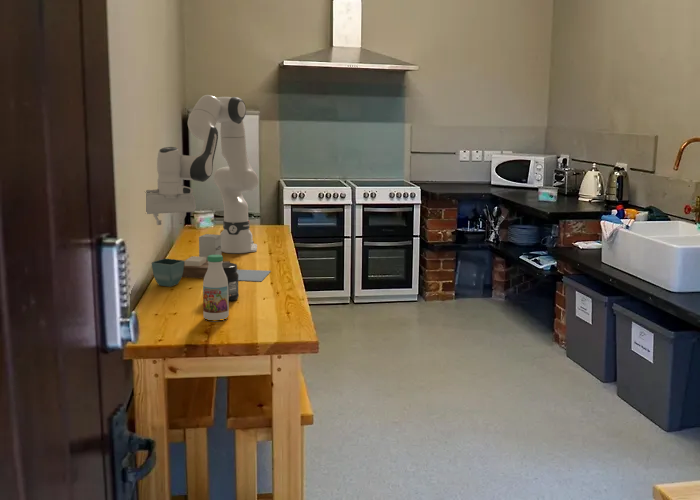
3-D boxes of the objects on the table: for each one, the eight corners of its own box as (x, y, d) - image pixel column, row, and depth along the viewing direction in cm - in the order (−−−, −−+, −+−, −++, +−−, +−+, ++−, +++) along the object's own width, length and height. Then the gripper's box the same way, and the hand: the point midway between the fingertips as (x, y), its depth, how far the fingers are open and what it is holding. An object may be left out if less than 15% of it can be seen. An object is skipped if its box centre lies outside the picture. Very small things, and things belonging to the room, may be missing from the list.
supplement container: (211, 294, 241) (211, 261, 239) (241, 295, 241) (241, 262, 239) (204, 302, 231) (203, 267, 229) (235, 303, 231) (235, 268, 229)
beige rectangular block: (191, 261, 277) (191, 256, 277) (206, 261, 276) (206, 256, 276) (184, 265, 268) (184, 260, 268) (199, 266, 268) (199, 261, 267)
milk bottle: (205, 315, 217) (203, 253, 213) (229, 315, 217) (229, 253, 214) (202, 322, 209) (200, 258, 205) (227, 322, 210) (226, 258, 206)
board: (186, 269, 280) (186, 259, 280) (230, 270, 279) (229, 261, 278) (175, 276, 267) (175, 266, 266) (220, 278, 265) (220, 268, 264)
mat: (234, 270, 281) (234, 269, 281) (270, 271, 280) (270, 270, 279) (223, 280, 263) (223, 279, 263) (261, 281, 262) (261, 281, 262)
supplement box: (215, 267, 285) (215, 237, 283) (198, 266, 287) (198, 236, 284) (222, 263, 292) (221, 234, 290) (205, 262, 294) (205, 233, 292)
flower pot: (185, 283, 257) (185, 260, 255) (172, 288, 248) (171, 264, 247) (165, 281, 259) (164, 258, 258) (151, 286, 251) (150, 262, 249)
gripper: (144, 190, 260) (145, 226, 262) (197, 189, 270) (197, 223, 273) (140, 189, 265) (141, 224, 267) (191, 187, 275) (192, 221, 278)
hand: (170, 224), depth 270 cm, fingers open, 7 cm apart
